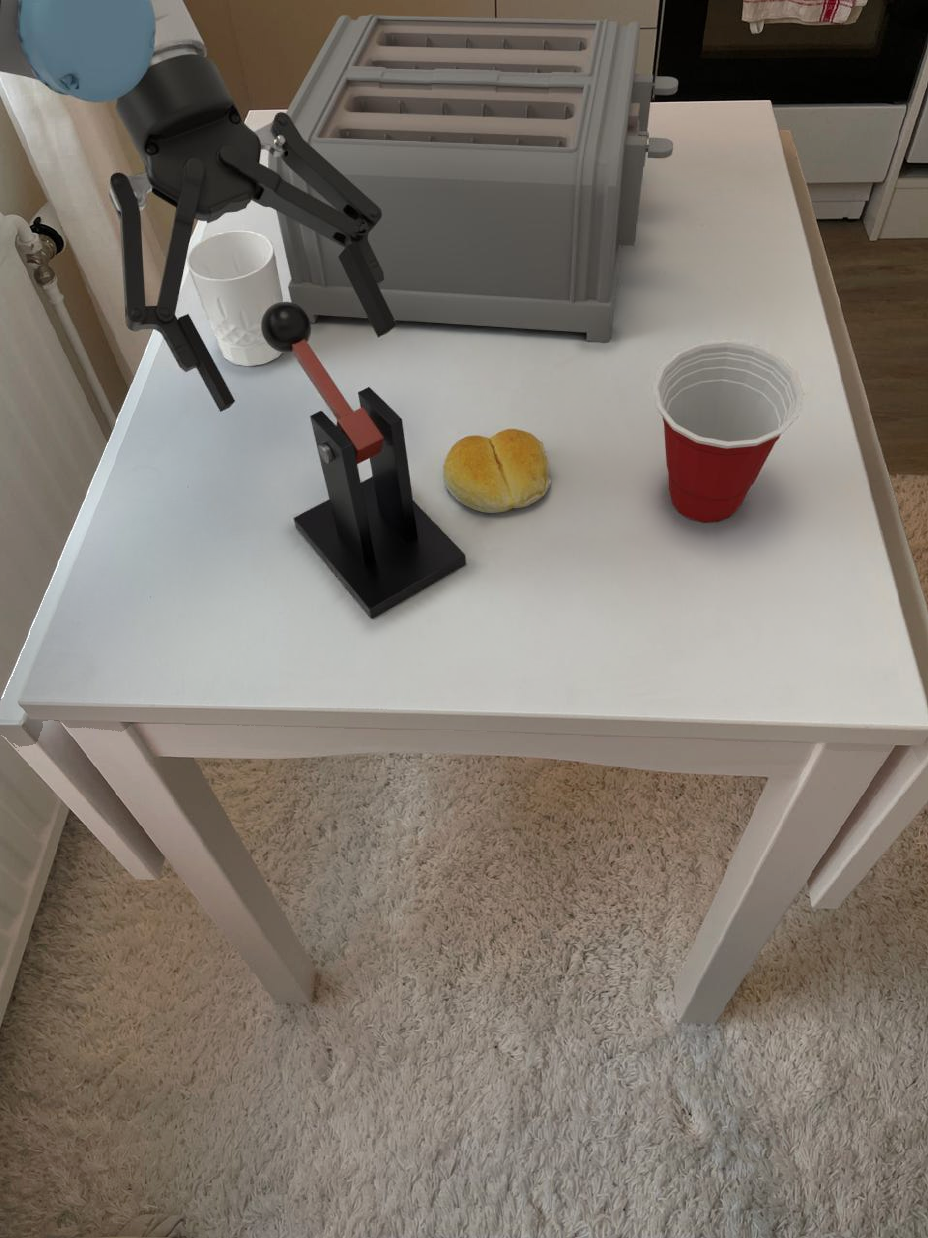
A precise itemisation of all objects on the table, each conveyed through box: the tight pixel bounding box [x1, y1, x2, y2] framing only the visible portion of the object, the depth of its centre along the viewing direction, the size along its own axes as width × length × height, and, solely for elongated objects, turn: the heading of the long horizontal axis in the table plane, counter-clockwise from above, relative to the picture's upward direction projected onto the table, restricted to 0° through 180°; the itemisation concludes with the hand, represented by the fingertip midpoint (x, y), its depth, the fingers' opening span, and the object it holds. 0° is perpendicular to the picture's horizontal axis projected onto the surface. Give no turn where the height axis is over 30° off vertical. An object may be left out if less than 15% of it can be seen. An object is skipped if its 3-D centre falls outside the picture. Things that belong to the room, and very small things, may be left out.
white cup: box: [186, 229, 284, 367], centre depth 90 cm, size 8×8×10 cm
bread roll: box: [442, 428, 552, 514], centre depth 80 cm, size 8×9×4 cm
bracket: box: [293, 386, 467, 620], centre depth 72 cm, size 12×9×14 cm
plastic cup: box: [652, 339, 806, 523], centre depth 74 cm, size 11×11×12 cm
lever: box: [261, 301, 384, 465], centre depth 69 cm, size 13×4×4 cm, turn 35°
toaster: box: [267, 13, 679, 343], centre depth 96 cm, size 31×36×17 cm
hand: (310, 368), depth 70 cm, fingers open, 13 cm apart
